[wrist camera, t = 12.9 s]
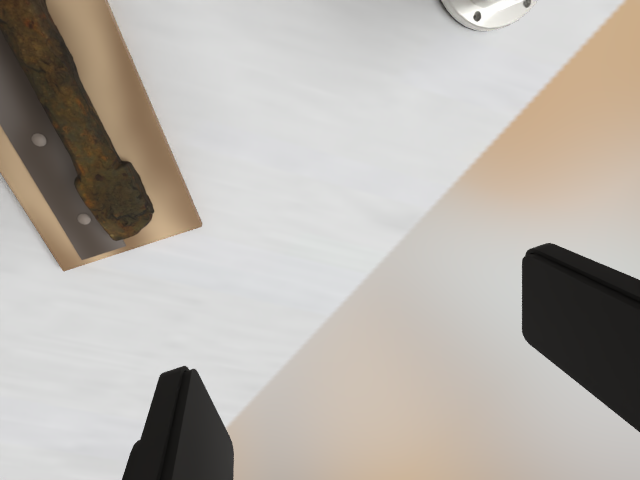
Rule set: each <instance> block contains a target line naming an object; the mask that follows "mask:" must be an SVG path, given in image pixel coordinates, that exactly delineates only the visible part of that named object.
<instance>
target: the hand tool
mask: <svg viewBox="0 0 640 480" xmlns="http://www.w3.org/2000/svg"><path fill="white" fill-rule="evenodd" d="M0 30H1V32H2V34H3V35H4V38H5V40H6V41H7V43H8V45H9V47H10V49H11V50H12V52H13V54H14V56H15V57H16V59H17V61H18V63H19V64H20V66H21V68H22V70H23V71H24V73H25V75H26V77H27V78H28V80H29V82H30V84H31V86H32V88H33V90H34V91H35V93H36V96H37V98H38V100H39V101H40V103H41V105H42V107H43V108H44V110H45V112H46V114H47V116H48V118H49V120H50V122H51V124H52V125H53V127H54V129H55V131H56V132H57V134H58V136H59V138H60V139H61V141H62V143H63V145H64V146H65V148H66V150H67V152H68V153H69V155H70V157H71V160H72V162H73V165H74V167H75V170H76V172H77V174H78V175H77V177H76V178H75V180H74V185H75V188H76V190H77V192H78V194H79V195H80V197H81V199H82V200H83V202H84V203H85V205H86V206H87V207H88V208H89V210H90V211H91V212H92V214H93V215H94V217H95V218H96V220H97V221H98V222H99V223H100V225H101V226H102V227H103V228H104V230H105V231H106V232H107V233H108V234H109V236H110V237H111V238H112V239H113V240H114V241H119V240H123V239H126V238H129V237H132V236H134V235H136V234H138V233H139V232H140V231H141V229H143V228H144V227H145V226H147V225H148V224H149V223H150V221H151V220H152V217H153V213H154V209H153V204H152V202H151V200H150V198H149V196H148V195H147V193H146V190H145V187H144V185H143V183H142V180H141V178H140V175H139V174H138V173H137V171H136V170H135V168H134V166H133V165H132V163H131V162H128V161H122V160H121V159H120V157H119V155H118V154H117V152H116V150H115V148H114V146H113V144H112V142H111V139H110V137H109V135H108V134H107V132H106V130H105V128H104V126H103V124H102V122H101V120H100V118H99V115H98V114H97V111H96V110H95V108H94V106H93V104H92V102H91V100H90V98H89V96H88V94H87V92H86V90H85V89H84V86H83V84H82V82H81V80H80V78H79V74H78V71H77V67H76V65H75V62H74V60H73V56H72V54H71V53H70V51H69V49H68V47H67V46H66V44H65V42H64V39H63V37H62V35H61V34H60V32H59V30H58V28H57V26H56V25H55V24H54V22H53V19H52V17H51V15H50V14H49V12H48V8H47V5H46V0H0Z"/></svg>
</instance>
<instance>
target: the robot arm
mask: <svg viewBox="0 0 640 480" xmlns="http://www.w3.org/2000/svg"><path fill="white" fill-rule="evenodd" d="M441 1H442V3H443V4H444V6H445V7H446V9H447V11H448V12H449V13H450V14H451V15H452V16H453V17H454V18H455V19H456V20H457V21H458V22H460V23H461V24H463V25H464V26H466V27H468V28H471V29H474V30H478V31H491V30H497V29H500V28H502V27H506V26H508V25H510V24H512V23H514V22H516V21H518V20H519V19H520V18H521V17H523V16H524V15H525V14H526V13H528V11H529V10H530V9H531V8H532V7H533V6H534V5H535V3H536V2H537V1H538V0H441ZM522 333H523V336H524V338H525V340H526V341H527V342H528V343H529V344H530V345H531V346H532V347H534V348H535V349H536V350H538V351H539V352H540V353H541V354H543V355H544V356H545V357H546V358H548V359H549V360H550V361H551V362H553V363H554V364H555V365H556V366H558V367H559V368H560V369H561V370H563V371H564V372H565V373H566V374H568V375H569V376H570V377H571V378H573V379H574V380H575V381H576V382H578V383H579V384H580V385H582V386H583V387H584V388H585V389H586V390H588V391H589V392H590V393H592V394H593V395H594V396H595V397H597V398H598V399H599V400H600V401H601V402H603V403H604V404H605V405H607V406H608V407H609V408H610V409H611V410H613V411H614V412H615V413H617V414H618V415H619V416H620V417H621V418H623V419H624V420H625V421H626V422H628V423H629V424H630V425H631V426H633V427H634V428H635V429H637V430H638V431H639V432H640V280H638V279H636V278H634V277H631V276H629V275H626V274H624V273H622V272H619V271H617V270H614V269H612V268H610V267H607V266H605V265H603V264H600V263H598V262H595V261H593V260H591V259H588V258H586V257H583V256H581V255H579V254H576V253H574V252H571V251H569V250H567V249H564V248H562V247H559V246H557V245H555V244H551V243H547V244H543V245H540V246H538V247H535V248H532V249H529V250H528V251H527V252H526V255H525V257H524V258H523V260H522ZM233 457H234V452H233V445H232V441H231V439H230V437H229V435H228V432H227V430H226V428H225V426H224V424H223V422H222V420H221V418H220V416H219V414H218V412H217V410H216V408H215V406H214V404H213V402H212V400H211V398H210V396H209V394H208V392H207V390H206V388H205V386H204V384H203V382H202V380H201V378H200V376H199V374H198V372H197V371H196V370H195V369H192V370H189V369H188V368H187V367H186V366H182V367H179V368H176V369H173V370H170V371H167V372H164V373H162V374H161V375H160V377H159V380H158V383H157V387H156V390H155V393H154V397H153V400H152V403H151V406H150V410H149V413H148V416H147V420H146V423H145V426H144V430H143V433H142V436H141V440H139V441H137V442H136V443H135V444H134V446H133V448H132V451H131V453H130V456H129V459H128V462H127V466H126V469H125V472H124V475H123V478H122V480H233V464H234V458H233Z"/></svg>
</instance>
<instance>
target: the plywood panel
mask: <svg viewBox="0 0 640 480" xmlns="http://www.w3.org/2000/svg"><path fill="white" fill-rule="evenodd" d="M46 5H47V8H48V12H49V14H50V15H51V17H52V19H53V22H54V24H55V25H56V26H57V28H58V30H59V32H60V34H61V35H62V37H63V39H64V42H65V44H66V46H67V47H68V49H69V51H70V53H71V54H72V56H73V60H74V62H75V65H76V67H77V71H78V74H79V78H80V80H81V82H82V84H83V86H84V89H85V90H86V92H87V94H88V96H89V98H90V100H91V102H92V104H93V106H94V108H95V110H96V111H97V114H98V115H99V118H100V120H101V122H102V124H103V126H104V128H105V130H106V132H107V134H108V135H109V137H110V139H111V142H112V144H113V146H114V148H115V150H116V152H117V154H118V155H119V157H120V159H121V160H122V161H128V162H131V163H132V165H133V166H134V168H135V170H136V171H137V173H138V174H139V175H140V178H141V180H142V183H143V185H144V187H145V190H146V193H147V195H148V196H149V198H150V200H151V202H152V204H153V209H154V213H153V217H152V220H151V221H150V223H149V224H148V225H147V226H145V227H144V228H143V229H141V231H140V232H139V233H138V234H136V235H134V236H132V237H129V238H126V239H123V240H119V241H114V240H113V239H112V238H111V237H110V236H109V234H108V233H107V232H106V231H105V230H104V228H103V227H102V226H101V225H100V223H99V222H98V221H97V220H96V218H95V217H94V215H93V214H92V212H91V211H90V210H89V208H88V207H87V206H86V205H85V203H84V202H83V200H82V199H81V197H80V195H79V194H78V192H77V190H76V188H75V185H74V180H75V178H76V177H77V175H78V174H77V172H76V170H75V167H74V165H73V162H72V160H71V157H70V155H69V153H68V152H67V150H66V148H65V146H64V145H63V143H62V141H61V139H60V138H59V136H58V134H57V132H56V131H55V129H54V127H53V125H52V124H51V122H50V120H49V118H48V116H47V114H46V112H45V110H44V108H43V107H42V105H41V103H40V101H39V100H38V98H37V96H36V93H35V91H34V90H33V88H32V86H31V84H30V82H29V80H28V78H27V77H26V75H25V73H24V71H23V70H22V68H21V66H20V64H19V63H18V61H17V59H16V57H15V56H14V54H13V52H12V50H11V49H10V47H9V45H8V43H7V41H6V40H5V38H4V35H3V34H2V32H1V30H0V172H1V174H2V176H3V177H4V179H5V180H6V182H7V183H8V185H9V187H10V188H11V190H12V191H13V193H14V194H15V196H16V198H17V199H18V201H19V202H20V204H21V206H22V207H23V209H24V210H25V212H26V213H27V215H28V217H29V218H30V220H31V221H32V223H33V224H34V226H35V228H36V229H37V231H38V232H39V234H40V235H41V237H42V239H43V240H44V242H45V243H46V245H47V246H48V248H49V250H50V251H51V253H52V254H53V256H54V257H55V259H56V261H57V262H58V264H59V265H60V267H61V268H62V270H63V271H66V270H69V269H72V268H76V267H79V266H82V265H85V264H88V263H91V262H94V261H97V260H100V259H103V258H106V257H109V256H113V255H116V254H119V253H122V252H125V251H128V250H131V249H134V248H137V247H140V246H143V245H146V244H150V243H153V242H156V241H159V240H162V239H165V238H168V237H171V236H174V235H177V234H180V233H183V232H186V231H190V230H193V229H196V228H199V227H202V222H201V219H200V217H199V215H198V212H197V210H196V208H195V205H194V203H193V201H192V198H191V196H190V194H189V191H188V189H187V187H186V184H185V182H184V180H183V177H182V175H181V172H180V170H179V168H178V165H177V163H176V161H175V158H174V156H173V154H172V151H171V149H170V147H169V144H168V142H167V140H166V137H165V135H164V133H163V130H162V128H161V126H160V123H159V121H158V119H157V116H156V114H155V112H154V109H153V107H152V105H151V102H150V100H149V98H148V95H147V93H146V90H145V88H144V86H143V83H142V81H141V79H140V76H139V74H138V72H137V69H136V67H135V65H134V62H133V60H132V58H131V55H130V53H129V51H128V48H127V46H126V44H125V41H124V39H123V37H122V34H121V32H120V30H119V27H118V25H117V23H116V20H115V18H114V16H113V13H112V11H111V9H110V6H109V4H108V1H107V0H46Z"/></svg>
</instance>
